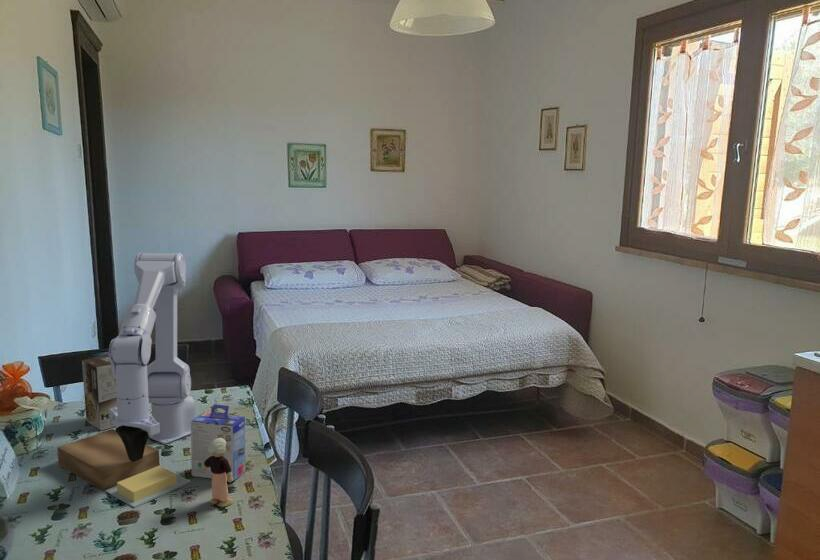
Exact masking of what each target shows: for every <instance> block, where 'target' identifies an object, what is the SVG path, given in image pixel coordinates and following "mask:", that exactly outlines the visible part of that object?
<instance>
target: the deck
mask: <svg viewBox="0 0 820 560" xmlns="http://www.w3.org/2000/svg"><path fill="white" fill-rule="evenodd" d="M56 449H57V458H58V460H57V462H58V466H60V467H62V468H63V469H64V470H67V471H69V472H71V473H72V474H74V475H75V476H77V477H79V478H81V479H82V480H84V481H86V482H88V483H90V484H91V485H93V486H95V487H97V488H98V489H100V490H102V491H105V490H107V489H110V488H112V487H114V486H117V482H119V481H122V480H124V479H127V478H129V477H132V476H134V475H137V474H139V473H142V472H144V471H147V470H149V469H152V468H154V467H157V466H161V465H160V450H159V449H158V448H155V447H152V446H151V445H149V444H147V443H146V445H145V449H144V454H143V458H142V459H140V460H137V461H135V462H132V461H130V460H129V457H128V455H127V452H126V449H125V446H124V443H123V441H122V439H121V438H120V436H119V435H118V433H117V432H116V429H113V428H110V429H107V430H105V431H103V432H99V433H95V434H93V435H90V436H87V437H84V438H81V439H78V440H75V441H72V442H69V443H65V444H63V445H61V446H57V448H56ZM105 492H106V491H105Z"/></svg>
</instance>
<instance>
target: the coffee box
mask: <svg viewBox="0 0 820 560" xmlns="http://www.w3.org/2000/svg"><path fill="white" fill-rule="evenodd" d="M81 367H82V381H83V393H84V394H83V395H84V406H85V420H86V422H87V423H89V424H90V425H91V426H93V427H95V428H96V429H97V430H98V431H104V430H105V431H106V430H110V429H113V428H117V426H115V425H113V423H112V421H113V420H116V419H115V418H114V419H111V418H110V413H109V409H111V408H115V407H117V395H116V377H115V375H114V374H113V373H112V365H111V363H110V361H109V354H106V355H105V354H104V355H101V356H100V355H99V356H95V357H91V358H87V359H81Z"/></svg>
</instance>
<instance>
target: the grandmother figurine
mask: <svg viewBox="0 0 820 560" xmlns="http://www.w3.org/2000/svg"><path fill="white" fill-rule="evenodd" d="M208 452H210V453H212V454H213V455H214V456H210V457H209V458H208V459H206V460H205V461H204V467H203V471H204V472H206V471H208V468H209V467H211V472H212V479H211V494H212V495H211V497H212V498H211V499H210V501H209V503H210V504H213V505H215V504H216V505H217V504H218V506H219V507H220V508H221V507H222V508H224V507H228V506H230V505H233V504H234V499H233V498H231V497H229V489H228V482H229V483H232V482H234V481H233V477H232V470H231V468H230V465H229V462H228V460H227V459H226V458H224V457H223V455H224V454H225V452H226V441H225V439H223V438H217V439H215V440H214V441H212V443H211V444H210V446H209V448H208ZM227 478H228V481H227Z"/></svg>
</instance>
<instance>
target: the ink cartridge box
mask: <svg viewBox="0 0 820 560" xmlns="http://www.w3.org/2000/svg"><path fill="white" fill-rule="evenodd" d="M218 409H222V410H224V412H219V411H215V410H218ZM229 410H230V406H229V405H225V404H214V403H213V406H212V408H211V411H210V413H209V412H203V413H201V414H199V415H198V416H196V418H195V419H193V420H192V421H191V434H190V453H191V454H190V455H191V456H190V457H191V458H190V460H191V476H192V477H198V478H204V479H205V478H206V479H211V480H212V472H211V467H209V468H208V471H206V472H204V471H203V467H204V461H205V460H206V459H208V458H209V457H210V456H214V455H213V454H212V453H210V452H208V448H209V446H210V444H211V443H212V441H214V440H215V439H217V438H223V439H225V441H226V452H225V454H224V455H223V457H224V458H226V459H227V460H228V462H229V465H230V468H231V470H232V477H233V481H232V482H234V481H236V480H237V479H238V478H239V477H240V476H242V475H243V474H244V473H245V472H246V469H247V468H246V417H245V416H243V415H241V416H240V415H232V414H231V415H229ZM227 482H228V478H227Z"/></svg>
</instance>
